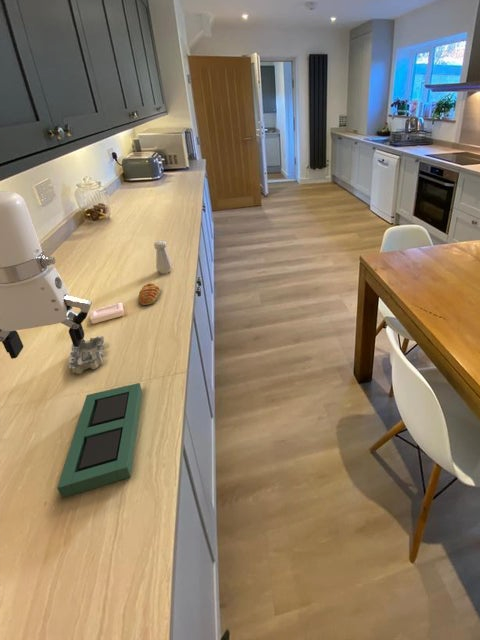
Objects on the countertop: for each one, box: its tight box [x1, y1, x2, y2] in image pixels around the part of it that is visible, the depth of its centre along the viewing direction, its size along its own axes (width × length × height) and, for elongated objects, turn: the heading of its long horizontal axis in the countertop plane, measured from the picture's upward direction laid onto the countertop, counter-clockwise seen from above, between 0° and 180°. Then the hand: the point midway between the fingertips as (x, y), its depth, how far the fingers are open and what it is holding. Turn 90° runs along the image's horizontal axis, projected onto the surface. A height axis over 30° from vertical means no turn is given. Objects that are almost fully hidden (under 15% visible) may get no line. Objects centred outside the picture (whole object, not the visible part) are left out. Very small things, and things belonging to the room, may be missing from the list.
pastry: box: [138, 282, 161, 306], centre depth 112 cm, size 9×7×4 cm
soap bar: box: [89, 302, 125, 325], centre depth 103 cm, size 5×9×2 cm, turn 120°
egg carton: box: [68, 335, 105, 375], centre depth 86 cm, size 11×8×4 cm
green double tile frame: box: [56, 382, 143, 499], centre depth 66 cm, size 11×20×3 cm, turn 18°
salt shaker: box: [153, 240, 173, 275], centre depth 127 cm, size 6×6×13 cm
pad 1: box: [92, 394, 129, 426], centre depth 71 cm, size 6×6×3 cm
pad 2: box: [79, 429, 122, 471], centre depth 63 cm, size 6×6×3 cm
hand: (49, 347), depth 60 cm, fingers open, 9 cm apart
